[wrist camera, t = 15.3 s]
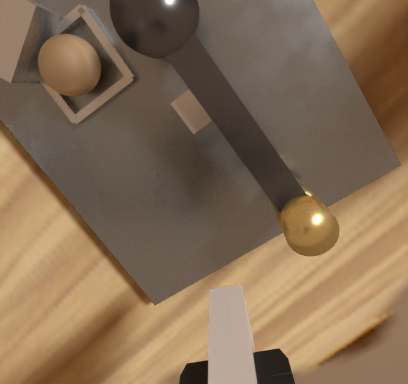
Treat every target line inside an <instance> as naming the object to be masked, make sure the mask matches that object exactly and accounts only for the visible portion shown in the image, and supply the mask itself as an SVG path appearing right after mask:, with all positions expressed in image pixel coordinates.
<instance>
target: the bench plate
mask: <svg viewBox="0 0 408 384" xmlns="http://www.w3.org/2000/svg"><path fill="white" fill-rule="evenodd" d="M109 2H110V0H0V120H1V121H2V122H3V124H4V125H5V126H6V127H7V128H8V130H9V131H10V132H11V133H12V134H13V136H14V137H15V138H16V139H17V140H18V142H19V143H20V144H21V145H22V146H23V148H24V149H25V150H26V151H27V152H28V154H29V155H30V156H31V157H32V158H33V160H34V161H35V162H36V163H37V164H38V166H39V167H40V168H41V169H42V170H43V172H44V173H45V174H46V175H47V176H48V178H49V179H50V180H51V181H52V182H53V184H54V185H55V186H56V187H57V188H58V190H59V191H60V192H61V193H62V194H63V196H64V197H65V198H66V199H67V200H68V202H69V203H70V204H71V205H72V206H73V208H74V209H75V210H76V211H77V212H78V214H79V215H80V216H81V217H82V218H83V220H84V221H85V222H86V223H87V224H88V226H89V227H90V228H91V229H92V230H93V232H94V233H95V234H96V235H97V236H98V238H99V239H100V240H101V241H102V242H103V244H104V245H105V246H106V247H107V248H108V250H109V251H110V252H111V253H112V254H113V256H114V257H115V258H116V259H117V260H118V262H119V263H120V264H121V265H122V266H123V268H124V269H125V270H126V271H127V272H128V274H129V275H130V276H131V277H132V278H133V280H134V281H135V282H136V283H137V284H138V286H139V287H140V288H141V289H142V290H143V292H144V293H145V294H146V295H147V296H148V298H149V299H150V300H151V301H152V302H153V304H154V305H157V304H158V303H160V302H162V301H164V300H165V299H167V298H169V297H171V296H172V295H174V294H176V293H178V292H179V291H181V290H183V289H185V288H186V287H188V286H190V285H192V284H194V283H195V282H197V281H199V280H201V279H202V278H204V277H206V276H208V275H209V274H211V273H213V272H215V271H216V270H218V269H220V268H222V267H223V266H225V265H227V264H229V263H230V262H232V261H234V260H236V259H237V258H239V257H241V256H243V255H244V254H246V253H248V252H250V251H251V250H253V249H255V248H257V247H258V246H260V245H262V244H264V243H265V242H267V241H269V240H271V239H272V238H274V237H276V236H278V235H280V234H281V233H283V230H282V228H281V226H280V223H279V221H278V218H277V216H276V214H275V211H274V209H273V206H272V204H271V201H270V199H269V197H268V196H267V195H266V193H265V192H264V191H263V189H262V188H261V186H260V185H259V184H258V182H257V181H256V180H255V178H254V177H253V175H252V174H251V173H250V171H249V170H248V169H247V167H246V166H245V164H244V163H243V162H242V160H241V159H240V158H239V156H238V155H237V154H236V152H235V151H234V149H233V148H232V147H231V145H230V144H229V143H228V141H227V140H226V138H225V137H224V136H223V134H222V133H221V132H220V130H219V129H218V128H217V126H216V125H215V123H214V122H213V121H211V122H209V123H208V124H207V125H205V126H204V127H203V128H202V129H200V130H199V131H198V132H196V133H195V134H193V133H192V132H191V130H190V129H189V128H188V126H187V125H186V124H185V122H184V121H183V120H182V118H181V117H180V116H179V114H178V113H177V112H176V110H175V109H174V108H173V106H172V105H171V104H170V103H172V102H173V101H174V100H175V99H177V98H178V97H179V96H180V95H182V94H183V93H184V92H185V91H187V90H188V89H189V88H188V86H187V85H186V84H185V82H184V81H183V80H182V78H181V77H180V76H179V74H178V73H177V71H176V70H175V69H174V67H173V66H172V65H171V63H170V62H169V60H168V59H154V58H150V57H147V56H145V55H142V54H140V53H138V52H136V51H134V50H133V49H131V48H130V47H128V46H127V45H126V44H125V43H124V42H123V41H122V39H121V38H120V37H119V35H118V34H117V32H116V30H115V28H114V26H113V23H112V20H111V16H110V6H109ZM198 2H199V6H200V24H199V29H198V32H197V34H196V37H197V38H198V39H199V41H200V42H201V44H202V45H203V47H204V48H205V49H206V51H207V52H208V54H209V55H210V57H211V58H212V59H213V61H214V62H215V64H216V65H217V67H218V68H219V70H220V71H221V72H222V74H223V75H224V77H225V78H226V80H227V81H228V82H229V84H230V85H231V87H232V88H233V90H234V91H235V92H236V94H237V95H238V97H239V98H240V100H241V101H242V103H243V104H244V105H245V107H246V108H247V110H248V111H249V113H250V114H251V115H252V117H253V118H254V120H255V121H256V123H257V124H258V125H259V127H260V128H261V130H262V131H263V133H264V134H265V136H266V137H267V138H268V140H269V141H270V143H271V144H272V146H273V147H274V148H275V150H276V151H277V153H278V154H279V156H280V157H281V159H282V160H283V161H284V163H285V164H286V166H287V167H288V169H289V170H290V171H291V173H292V174H293V176H294V177H296V178H299V179H301V180H302V181H303V182H305V184H306V185H307V186H308V187H309V188H310V189H311V191H312V192H313V193H314V194H315V195H316V196H317V197H318V199H319V200H320V201H321V202H322V203H323V204H324V206H325V207H326V208H327V207H329V206H330V205H332V204H334V203H336V202H337V201H339V200H341V199H343V198H344V197H346V196H348V195H350V194H351V193H353V192H355V191H357V190H358V189H360V188H362V187H364V186H366V185H367V184H369V183H371V182H373V181H374V180H376V179H378V178H380V177H381V176H383V175H385V174H387V173H388V172H390V171H392V170H394V169H395V168H397V167H399V166H401V164H400V162H399V161H398V159H397V157H396V155H395V153H394V151H393V149H392V147H391V145H390V144H389V142H388V140H387V138H386V136H385V134H384V132H383V130H382V129H381V127H380V125H379V123H378V121H377V119H376V117H375V115H374V113H373V112H372V110H371V108H370V106H369V104H368V102H367V100H366V98H365V96H364V95H363V93H362V91H361V89H360V87H359V85H358V83H357V81H356V80H355V78H354V76H353V74H352V72H351V70H350V68H349V66H348V64H347V63H346V61H345V59H344V57H343V55H342V53H341V51H340V49H339V48H338V46H337V44H336V42H335V40H334V38H333V36H332V34H331V32H330V31H329V29H328V27H327V25H326V23H325V21H324V19H323V17H322V16H321V14H320V12H319V10H318V8H317V6H316V4H315V2H314V0H198ZM59 34H71V35H75V36H78V37H80V38H82V39H84V40H85V41H87V42H88V43H89V44H90V45H91V46H92V47H93V48H94V50H95V51H96V53H97V55H98V57H99V60H100V64H101V75H100V79H99V81H98V83H97V85H96V86H95V88H94V89H93V90H91V91H90V92H88V93H87V94H85V95H82V96H75V97H72V96H66V95H63V94H60V93H58V92H56V91H54V90H53V89H52V88H51V87H49V86H48V85H47V83H46V82H45V81H44V79H43V78H42V76H41V74H40V71H39V68H38V55H39V51H40V49H41V47H42V45H43V44H44V43H45V42H46V41H47V40H48V39H49V38H51V37H53V36H55V35H59Z"/></svg>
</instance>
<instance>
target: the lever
mask: <svg viewBox="0 0 408 384" xmlns="http://www.w3.org/2000/svg"><path fill="white" fill-rule="evenodd" d="M109 6H110V16H111V20H112V23H113V26H114V28H115V30H116V32H117V34H118V35H119V37H120V38H121V39H122V41H123V42H124V43H125V44H126V45H127V46H128V47H130V48H131V49H133V50H134V51H136V52H138V53H140V54H142V55H145V56H147V57H150V58H154V59H168V60H169V62H170V63H171V65H172V66H173V67H174V69H175V70H176V71H177V73H178V74H179V76H180V77H181V78H182V80H183V81H184V82H185V84H186V85H187V86H188V88H189V89H188V90H187V91H185V92H184V93H183V94H182V95H180V96H179V97H178V98H177V99H175V100H174V101H173V102H172V103H170V104H171V105H172V106H173V108H174V109H175V110H176V112H177V113H178V114H179V116H180V117H181V118H182V120H183V121H184V122H185V124H186V125H187V126H188V128H189V129H190V130H191V132H192V133H193V134H195V133H196V132H198V131H199V130H200V129H202V128H203V127H204V126H205V125H207V124H208V123H209V122H211V121H213V122H214V123H215V125H216V126H217V128H218V129H219V130H220V132H221V133H222V134H223V136H224V137H225V138H226V140H227V141H228V143H229V144H230V145H231V147H232V148H233V149H234V151H235V152H236V154H237V155H238V156H239V158H240V159H241V160H242V162H243V163H244V164H245V166H246V167H247V169H248V170H249V171H250V173H251V174H252V175H253V177H254V178H255V180H256V181H257V182H258V184H259V185H260V186H261V188H262V189H263V191H264V192H265V193H266V195H267V196H268V197H269V199H270V201H271V204H272V206H273V209H274V211H275V214H276V216H277V218H278V221H279V223H280V226H281V228H282V230H283V233H284V235H285V237H286V240H287V242H288V244H289V246H290V247H291V248H292V249H293V250H294V251H295V252H297V253H299V254H301V255H304V256H317V255H321V254H323V253H325V252H327V251H328V250H330V249H331V248H332V247H333V246H334V244H335V243H336V241H337V239H338V236H339V225H338V222H337V220H336V218H335V217H334V216H333V215H332V214H331V212H330V211H329V210H328V209H327V208H326V207H325V206H324V204H323V203H322V202H321V201H320V200H319V199H318V197H317V196H316V195H315V194H314V193H313V192H312V191H311V189H310V188H309V187H308V186H307V185H306V184H305V182H303V181H302V180H301V179H299V178H296V177H294V176H293V174H292V173H291V171H290V170H289V169H288V167H287V166H286V164H285V163H284V161H283V160H282V159H281V157H280V156H279V154H278V153H277V151H276V150H275V148H274V147H273V146H272V144H271V143H270V141H269V140H268V138H267V137H266V136H265V134H264V133H263V131H262V130H261V128H260V127H259V125H258V124H257V123H256V121H255V120H254V118H253V117H252V115H251V114H250V113H249V111H248V110H247V108H246V107H245V105H244V104H243V103H242V101H241V100H240V98H239V97H238V95H237V94H236V92H235V91H234V90H233V88H232V87H231V85H230V84H229V82H228V81H227V80H226V78H225V77H224V75H223V74H222V72H221V71H220V70H219V68H218V67H217V65H216V64H215V62H214V61H213V59H212V58H211V57H210V55H209V54H208V52H207V51H206V49H205V48H204V47H203V45H202V44H201V42H200V41H199V39H198V38H197V37H196V34H197V32H198V29H199V24H200V6H199V2H198V0H110V2H109Z"/></svg>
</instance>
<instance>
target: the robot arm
mask: <svg viewBox="0 0 408 384" xmlns="http://www.w3.org/2000/svg"><path fill="white" fill-rule="evenodd" d="M179 384H295V382H294V379H293V375H292V371H291V368H290V364H289V361H288V358H287V357H286V356H285V355H284V353H283V352H282V351H281V350H280V349H273V350H266V351H260V352H255V349H254V343H253V336H252V331H251V326H250V321H249V316H248V312H247V307H246V302H245V297H244V293H243V288H242V284H240V285H234V286H228V287H222V288H217V289H211V290H210V296H209V354H208V360H207V361H201V362H194V363H188V364H186V366H185V368H184V370H183V372H182V374H181V375H180V383H179Z"/></svg>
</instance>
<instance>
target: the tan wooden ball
mask: <svg viewBox="0 0 408 384" xmlns="http://www.w3.org/2000/svg"><path fill="white" fill-rule="evenodd" d="M38 68H39V71H40V74H41V76H42V78H43V79H44V81H45V82H46V83H47V85H48V86H49V87H51V88H52V89H53V90H54V91H56V92H58V93H60V94H63V95H66V96H72V97H75V96H82V95H85V94H87V93H88V92H90V91H91V90H93V89H94V88H95V86H96V85H97V83H98V81H99V79H100V75H101V64H100V60H99V57H98V55H97V53H96V51H95V50H94V48H93V47H92V46H91V45H90V44H89V43H88V42H87V41H85V40H84V39H82V38H80V37H78V36H75V35H71V34H59V35H55V36H53V37H51V38H49V39H48V40H47V41H46V42H45V43H44V44H43V45H42V47H41V49H40V51H39V55H38Z"/></svg>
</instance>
